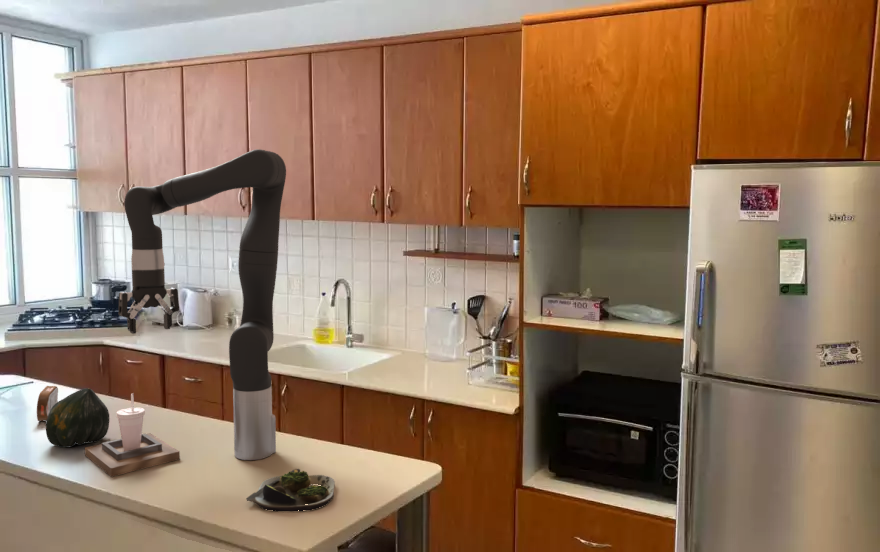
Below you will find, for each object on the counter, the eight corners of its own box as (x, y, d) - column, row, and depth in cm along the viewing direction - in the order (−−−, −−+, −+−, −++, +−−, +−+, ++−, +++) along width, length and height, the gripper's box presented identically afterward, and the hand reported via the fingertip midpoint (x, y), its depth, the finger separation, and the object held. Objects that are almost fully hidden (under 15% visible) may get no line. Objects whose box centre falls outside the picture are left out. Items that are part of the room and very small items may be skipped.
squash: (24, 426, 175) (53, 386, 171) (72, 411, 189) (100, 374, 185) (56, 468, 172) (87, 428, 168) (103, 450, 187) (132, 413, 183)
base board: (150, 440, 182) (149, 427, 181) (179, 459, 169) (179, 445, 168) (85, 455, 170) (84, 441, 170) (111, 476, 158) (110, 462, 157)
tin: (48, 409, 207) (47, 382, 206) (60, 409, 208) (59, 381, 207) (35, 425, 192) (34, 396, 192) (48, 424, 193) (47, 395, 193)
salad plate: (262, 476, 160) (261, 457, 159) (339, 476, 161) (339, 456, 160) (242, 514, 141) (242, 492, 140) (330, 513, 142) (330, 491, 141)
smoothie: (135, 455, 166) (133, 398, 164) (111, 452, 167) (109, 396, 165) (151, 445, 172) (149, 391, 170) (128, 443, 173) (126, 389, 172)
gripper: (169, 264, 180) (171, 325, 182) (112, 267, 170) (115, 332, 172) (182, 266, 175) (184, 329, 176) (124, 270, 165) (126, 336, 166)
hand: (150, 331), depth 174 cm, fingers open, 8 cm apart
